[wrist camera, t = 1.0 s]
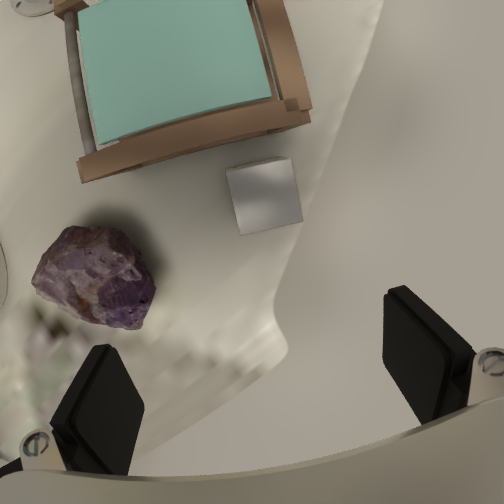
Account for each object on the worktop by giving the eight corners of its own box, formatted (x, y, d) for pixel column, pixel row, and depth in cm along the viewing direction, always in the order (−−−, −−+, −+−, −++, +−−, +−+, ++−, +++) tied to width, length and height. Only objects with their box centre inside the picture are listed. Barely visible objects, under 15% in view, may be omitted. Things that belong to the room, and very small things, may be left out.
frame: (101, 36, 22) (47, -5, 12) (247, -5, 22) (256, -70, 12) (129, 171, 27) (74, 185, 16) (283, 131, 27) (315, 120, 16)
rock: (146, 308, 33) (171, 223, 30) (139, 360, 25) (166, 259, 22) (49, 279, 29) (61, 191, 26) (19, 324, 21) (22, 216, 18)
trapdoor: (83, 16, 15) (77, 12, 14) (234, -30, 15) (234, -37, 14) (104, 144, 18) (99, 144, 17) (269, 98, 18) (271, 95, 17)
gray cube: (226, 169, 28) (225, 172, 23) (280, 156, 28) (291, 158, 23) (239, 221, 29) (240, 236, 24) (291, 209, 29) (303, 221, 24)
